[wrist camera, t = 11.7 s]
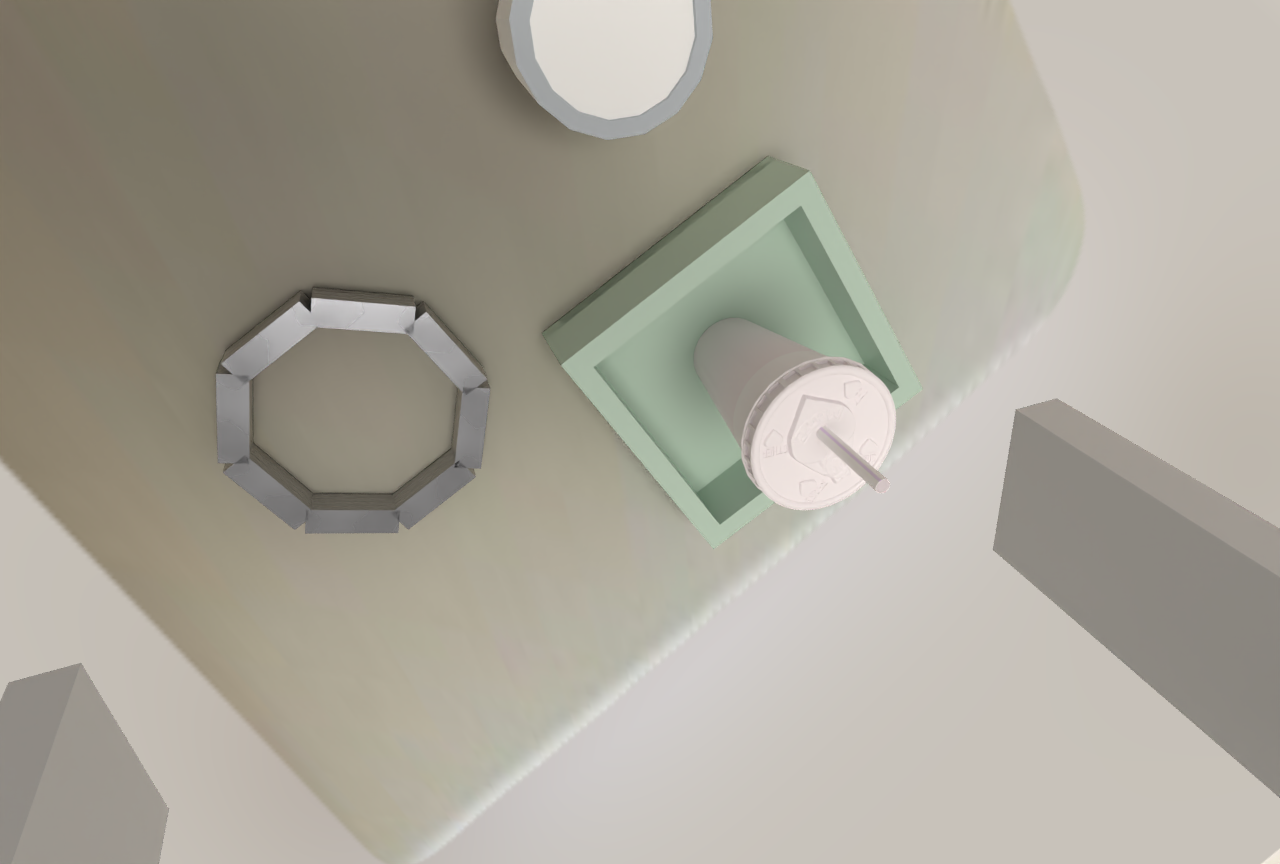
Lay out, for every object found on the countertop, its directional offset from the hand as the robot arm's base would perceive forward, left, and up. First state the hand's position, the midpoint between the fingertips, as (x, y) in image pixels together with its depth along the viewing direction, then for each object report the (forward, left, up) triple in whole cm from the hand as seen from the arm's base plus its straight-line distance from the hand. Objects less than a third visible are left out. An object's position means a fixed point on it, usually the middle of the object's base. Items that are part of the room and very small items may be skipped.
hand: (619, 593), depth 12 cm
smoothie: (+13, +6, -26) cm, 30 cm away
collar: (+4, -9, -27) cm, 28 cm away
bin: (+13, +6, -27) cm, 30 cm away
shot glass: (-3, +8, -27) cm, 28 cm away
